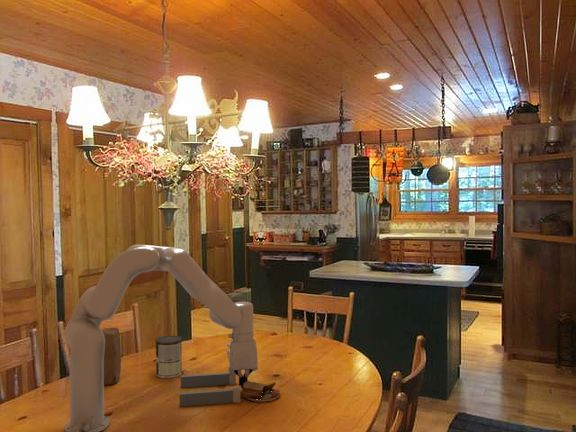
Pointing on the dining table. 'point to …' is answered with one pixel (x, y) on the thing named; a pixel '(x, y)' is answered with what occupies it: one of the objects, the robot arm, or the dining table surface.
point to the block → (112, 356)
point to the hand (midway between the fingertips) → (243, 387)
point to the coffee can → (168, 356)
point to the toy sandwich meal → (259, 391)
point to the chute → (209, 396)
